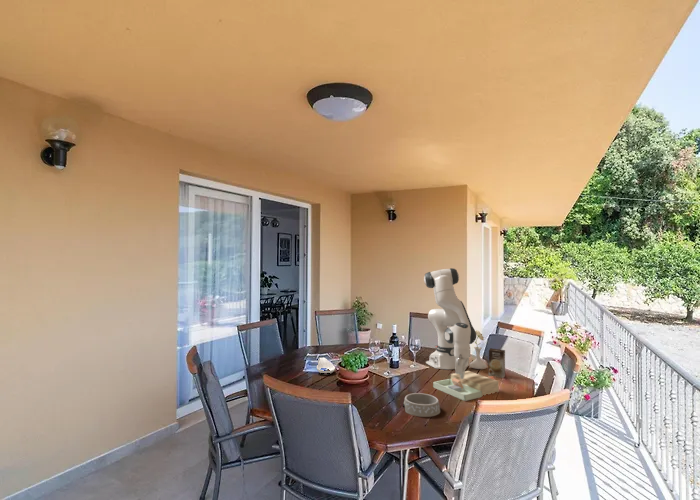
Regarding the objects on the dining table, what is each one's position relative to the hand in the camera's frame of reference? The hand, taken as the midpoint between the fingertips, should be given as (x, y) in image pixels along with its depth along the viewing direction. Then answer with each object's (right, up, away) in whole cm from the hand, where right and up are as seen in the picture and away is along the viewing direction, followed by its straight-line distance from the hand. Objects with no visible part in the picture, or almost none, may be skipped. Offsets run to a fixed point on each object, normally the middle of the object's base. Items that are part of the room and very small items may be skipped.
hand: (462, 378), depth 208 cm
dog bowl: (-28, -7, -26) cm, 39 cm away
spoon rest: (-80, -8, +38) cm, 88 cm away
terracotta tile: (-1, -3, +2) cm, 4 cm away
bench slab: (+8, -7, +4) cm, 11 cm away
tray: (-4, -7, -2) cm, 8 cm away
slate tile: (-4, -4, -1) cm, 6 cm away
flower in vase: (+24, -9, +45) cm, 52 cm away
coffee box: (+30, -8, +28) cm, 42 cm away
